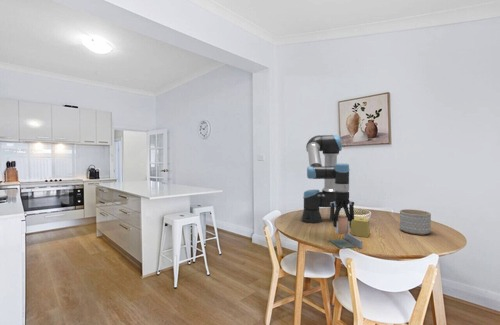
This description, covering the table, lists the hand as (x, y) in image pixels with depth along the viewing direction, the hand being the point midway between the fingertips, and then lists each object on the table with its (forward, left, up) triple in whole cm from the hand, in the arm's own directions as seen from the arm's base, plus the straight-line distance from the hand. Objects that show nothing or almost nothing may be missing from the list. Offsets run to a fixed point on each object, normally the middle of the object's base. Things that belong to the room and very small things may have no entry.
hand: (342, 232), depth 136 cm
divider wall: (0, +7, -7) cm, 9 cm away
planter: (-12, +57, -7) cm, 59 cm away
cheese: (-14, +20, -7) cm, 26 cm away
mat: (0, 0, -7) cm, 7 cm away
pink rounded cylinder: (0, 0, 0) cm, 0 cm away
